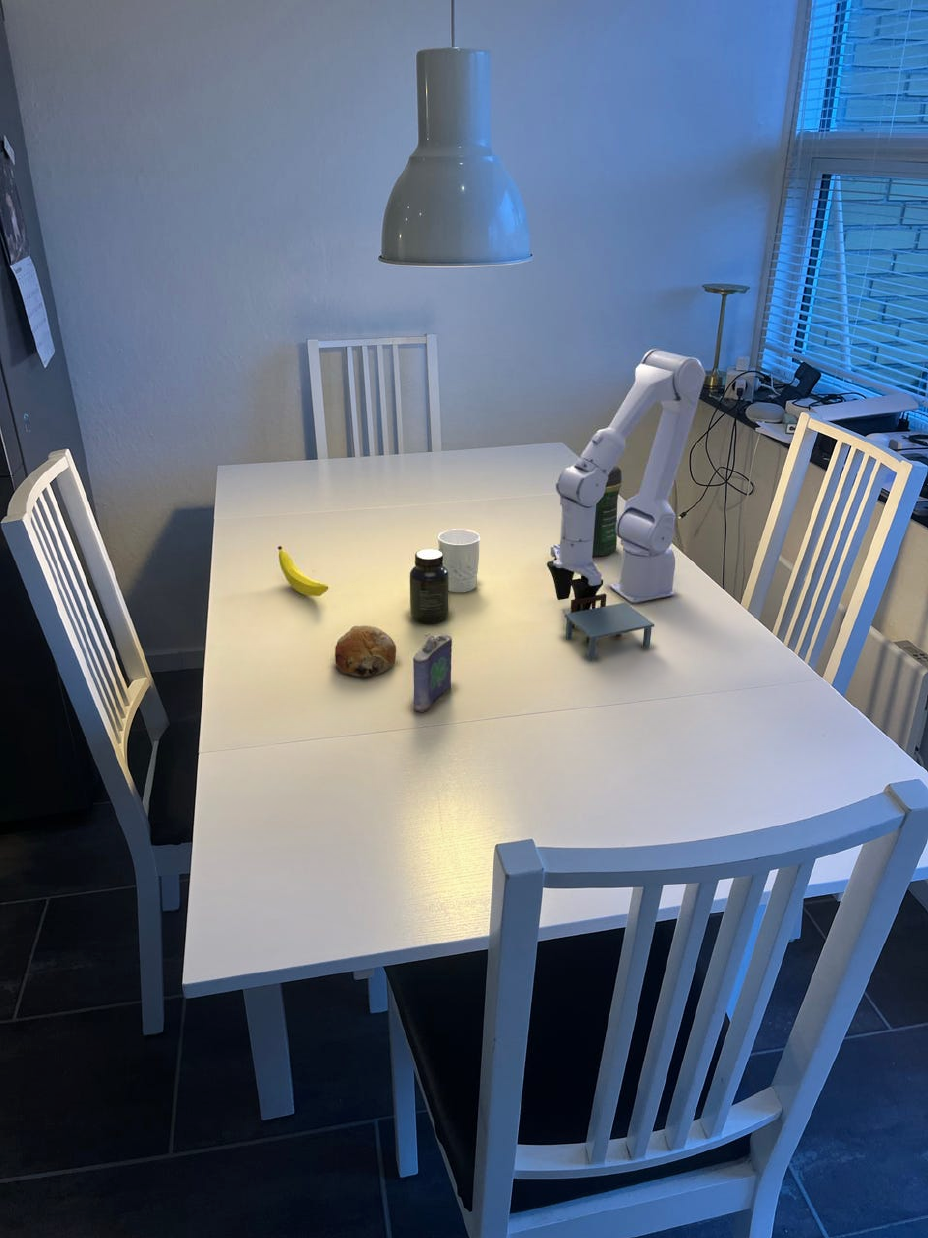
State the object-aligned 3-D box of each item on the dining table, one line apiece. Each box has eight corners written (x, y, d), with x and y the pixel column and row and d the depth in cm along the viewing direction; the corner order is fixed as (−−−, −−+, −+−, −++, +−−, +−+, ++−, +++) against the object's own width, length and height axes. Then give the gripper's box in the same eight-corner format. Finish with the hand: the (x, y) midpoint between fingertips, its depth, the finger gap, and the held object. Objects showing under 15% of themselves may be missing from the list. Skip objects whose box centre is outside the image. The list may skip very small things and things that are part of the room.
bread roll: (402, 678, 158) (409, 630, 158) (378, 682, 148) (386, 631, 148) (347, 668, 161) (354, 621, 160) (320, 671, 151) (328, 621, 151)
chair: (600, 619, 170) (602, 591, 167) (622, 638, 164) (625, 608, 161) (566, 626, 167) (568, 597, 165) (588, 645, 161) (590, 615, 159)
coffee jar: (622, 551, 198) (630, 465, 190) (594, 560, 194) (601, 472, 185) (590, 537, 205) (596, 453, 196) (562, 545, 201) (567, 460, 192)
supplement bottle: (413, 606, 174) (412, 545, 168) (450, 608, 173) (450, 547, 168) (407, 623, 168) (406, 560, 162) (446, 625, 167) (446, 562, 162)
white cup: (475, 596, 178) (475, 546, 174) (433, 592, 180) (433, 542, 175) (482, 579, 185) (483, 530, 181) (443, 575, 186) (443, 527, 182)
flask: (424, 714, 141) (423, 650, 137) (407, 709, 143) (406, 646, 138) (455, 686, 149) (455, 625, 144) (438, 682, 150) (438, 621, 145)
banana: (322, 613, 171) (319, 581, 168) (274, 578, 185) (271, 547, 182) (336, 609, 173) (334, 577, 170) (288, 574, 186) (285, 544, 184)
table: (623, 625, 168) (625, 602, 166) (651, 647, 161) (654, 623, 159) (563, 637, 164) (564, 614, 162) (589, 661, 156) (591, 637, 154)
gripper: (537, 524, 170) (533, 594, 176) (577, 554, 158) (572, 627, 164) (571, 519, 172) (567, 588, 178) (614, 548, 160) (608, 620, 166)
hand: (572, 606), depth 171 cm, fingers open, 6 cm apart
